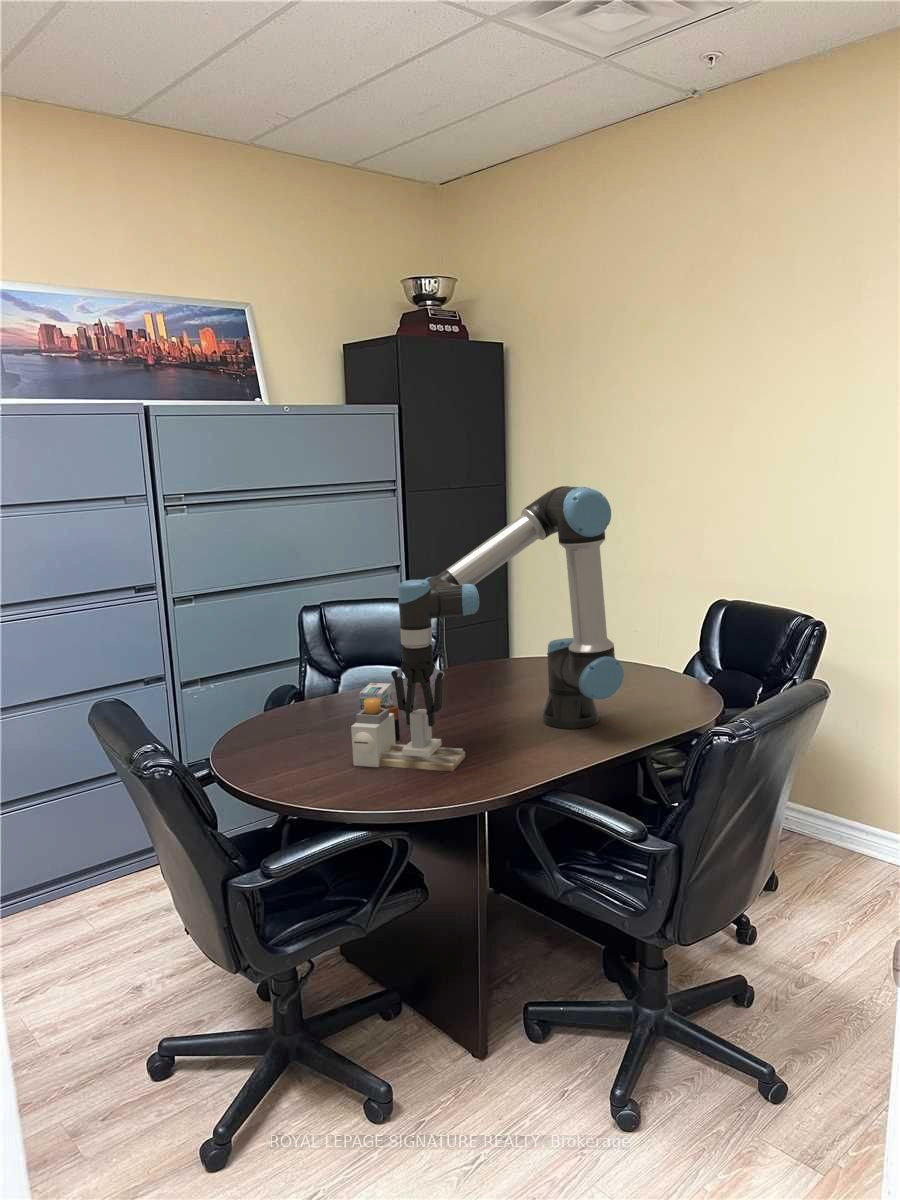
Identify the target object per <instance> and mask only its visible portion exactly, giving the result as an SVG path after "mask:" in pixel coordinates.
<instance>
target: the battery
mask: <svg viewBox="0 0 900 1200" xmlns="http://www.w3.org/2000/svg"><path fill="white" fill-rule="evenodd" d="M380 709H389V713H394V721H395V740H396V741H397V740H400V739H401V738H400V721H399V720H400V719H399V709H398V705H394V704H393V705H392V703H385V702H384V701H380Z"/></svg>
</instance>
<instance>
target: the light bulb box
mask: <svg viewBox="0 0 900 1200" xmlns="http://www.w3.org/2000/svg"><path fill="white" fill-rule="evenodd" d="M368 698H378V699H380V701H384V702H385V703H392V705H394V701H393V700H394V699H393V698H394V697H393V684H392V683H385V682H384V683H381V682H379V683H378V682H377V683H376V682H370V683H368V684H367V685H366V687H364V688H363V689H362V690H361V691H360V692H359V702H360V703H359V704H360V712H361V711H362V710H364V700H365V699H368Z"/></svg>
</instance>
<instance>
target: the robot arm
mask: <svg viewBox="0 0 900 1200" xmlns="http://www.w3.org/2000/svg"><path fill="white" fill-rule="evenodd" d="M520 514H521V515H520V516H518V517H517V518H516V519H514V520H513V521H512V522H511V523H508V524H507V525H506V526H504V528H502V529H501V530H499V531H498V532H497V533H495V534H494V535H492V536H490V537H489V538H488V539H486V540H485V541H484V542H482V543H481V544H480V545H479V546H476V547H475V548H474V549H473V550H471V551H470V552H469V553H467V554H466V555H464V556H463V557H461V558H460V559H459V560H457V561H456V562H455V563H453V564H452V565H450V566H449V567H447V568H446V569H445V570H443V571H442V572H441V573H438V575H435V576H429V577H426V578H425V579H408V580H404V581H401V582H400V583H399V586H398V601H397V603H398V608H399V610H398V611H399V623H400V624H399V626H400V628H399V629H400V644H401V648H400V650H401V661H402V663H401V665H400V667H399V668H396V669H393V671H391V673H390V674H391V677H392V678H393V681H394V687H395V695H396V700H397V707H398V711H404V712H405V716H406V717H405V718H406V724H407V726H409V728H410V730H411V721H410V716H411V715H412V714H413V713H414V712H415V711H416V710H414V709H415V707H414V705H415V693H416V685H417V683H419V684H420V686H421V688H422V689H421V690H422V693H423V698H424V704H425V709H427V712H426V713H425V714H424V719H425V740H429V739H430V738H431V737H432V738H433V731H432V730H433V728H432V727H433V726H435V723H436V718H435V716H436V715H435V713H438V712H440V710H442V708H443V686H444V685H443V684H444V678H445V676H446V671H445V670H439V669H437V668H436V665H435V663H434V652H433V651H434V650H433V645H432V644H431V643H433V633H432V631H433V630H432V619H441V618H452V617H460V616H461V617H462V616H463V617H465V616H469V615H475V614H476V613H477V612H478V610H479V608H480V596H479V591H478V589H477V587H476V584H478V583H479V582H480V581H482V580H483V579H485V578H486V577H487V576H490V574H492V573H493V572H494V571H496V570H497V569H499V568H500V567H502V566H503V565H504V564H505V563H506V562H508V561H510V560H511V559H512V558H514V557H516V556H517V555H518V554H519V553H521V552H522V551H524V550H525V549H527V548H528V547H529V546H530V545H532V544H534V543H535V542H536V541H538V540H541V541H543V540H545V539H547V538H548V537H549V536H552V535H554V534H556V533H557V534H558V535H557V538H558V543H559V545H560V546H561V547H563V549H564V550H565V556H566V557H565V558H566V570H567V578H568V579H567V580H568V590H569V591H568V592H569V602H570V614H571V623H572V636H573V637H567V638H566V637H565V638H558V639H553V640H551V641H550V642H548V644H547V653H546V655H547V676H548V677H547V679H548V695H547V699H546V702H545V705H544V708H543V712H542V722H543V723H544V724H545V725H547V726H549V727H553V728H556V729H557V728H559V729H569V730H570V729H572V730H573V729H575V730H576V729H582V728H583V729H584V728H588V727H592V726H595V725H596V724H597V723H598V722H599V711H598V708H597V706H596V703H595V700H597V701H599V700H600V701H601V700H606V699H609V698H610V697H612V696H613V695H615V694H616V693H617V692H618V690H619V689H620V688H621V686H622V684H623V683H624V677H625V671H624V668H623V665H622V663H621V662H620V661H619V659H617V658H616V653H615V644H614V642H613V641H612V640H610V639H609V638H608V632H607V631H608V630H607V620H606V606H605V596H604V595H605V594H604V582H603V580H604V579H603V571H602V558H601V545H602V544H603V543H604V542H605V541H606V530H607V527H608V526H609V525H610V523H611V519H612V509H611V505H610V502H609V501H608V499H607V497H606V496H605V495H604V494H603V493H602V492H600V491H599V490H596V489H594V488H590V487H586V486H568V485H567V486H565V485H564V486H562V485H561V486H558V487H554V488H552V489H551V490H549V491H547V492H546V493H544V494H543V495H541V496H540V497H538V498H537V499H535V500H534V501H533V502H530V504H528V505H527V506H526V507H524V508H523V509H522V510H521V513H520ZM433 674H434V675H433ZM432 675H433V677H434V679H435V681H434V697H433V693H432V687H431V679H430V678H431V677H432ZM403 676H405V677H406V679H407V681H406V682H407V683H406V686H407V687H406V688H407V690H406V692H405V686H404V680H403V679H404V678H403Z"/></svg>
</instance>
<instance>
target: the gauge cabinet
mask: <svg viewBox="0 0 900 1200" xmlns="http://www.w3.org/2000/svg"><path fill="white" fill-rule="evenodd" d="M355 721H356V722H355V723H354V724H352V725H351V726H350V730H351V744H352V745H351V747H352V760H353V766H355V767H367V768H368V767H369V768H379V767H381V763H380V760H381V759H382V753H383V752H390V751H391V745H393V744H396V741H397V740H395V721H394V713H389V709H381V712H380V713H377V714H365V712H364V710H362V711H361V710H360V711H359V712H358V713H356V714H355Z"/></svg>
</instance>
